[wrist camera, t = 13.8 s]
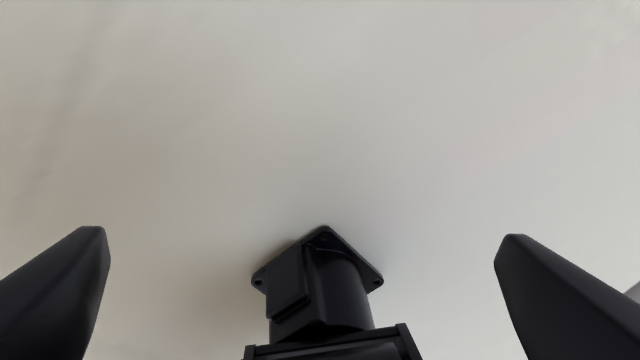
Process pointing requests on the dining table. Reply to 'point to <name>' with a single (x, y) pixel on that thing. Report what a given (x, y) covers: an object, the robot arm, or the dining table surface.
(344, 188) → the dining table surface
